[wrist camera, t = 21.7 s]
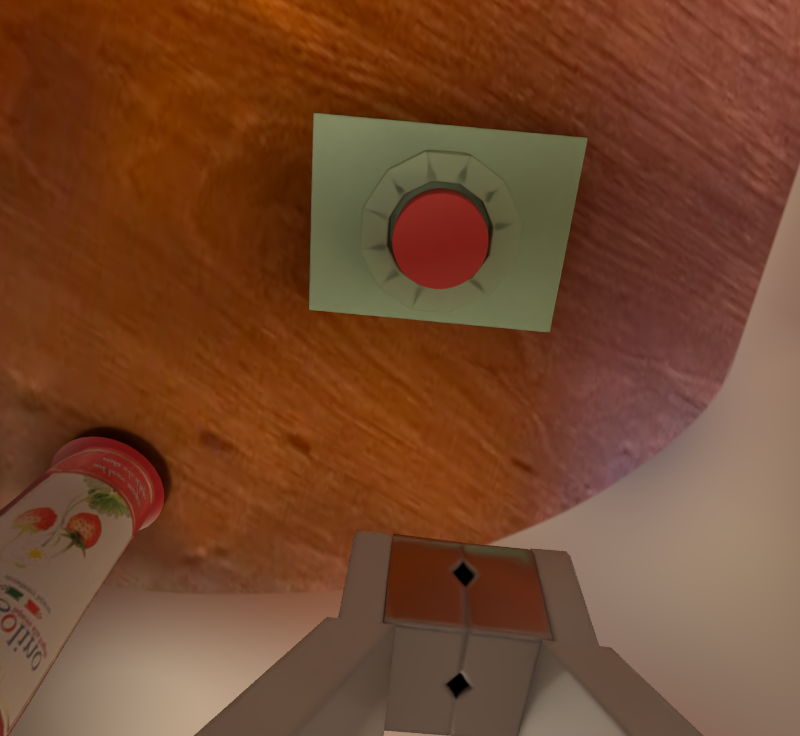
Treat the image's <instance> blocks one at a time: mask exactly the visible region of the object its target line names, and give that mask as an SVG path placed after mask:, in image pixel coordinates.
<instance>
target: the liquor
mask: <svg viewBox="0 0 800 736" xmlns="http://www.w3.org/2000/svg"><path fill="white" fill-rule="evenodd" d="M163 504H164V489H163V485H162V482H161V479H160V476H159V475H158V473H157V471H156V470H155V468H154V467H153V465H152V464H151V463H150V462H149V461H148V460H147V459H146V458H145V457H144V456H143V455H142V454H140V453H139V452H138V451H137V450H135V449H133V448H132V447H130V446H128V445H126V444H124V443H122V442H119V441H117V440H113V439H109V438H105V437H93V436H92V437H83V438H79V439H76V440H73V441H70V442H69V443H67V444H65V445H64V446H62V447H61V448H60V449H59V450H58V451H57V452H56V454H55V456H54V457H53V459H52V462H51V465H50V469H49V470H48V471H47V472H45V473H44V474H43V475H42V476H41V477H40V478H38V479H37V480H36V481H35V482H34V483H33V484H31V485H30V486H29V487H28V488H27V489H26V490H24V491H23V492H22V493H21V494H20V495H19V496H17V497H16V498H15V499H14V500H13V501H11V502H10V503H9V504H8V505H7V506H5V507H4V508H3V509H2V510H1V511H0V736H9V734H10V733H11V731H12V729H13V728H14V726H15V725H16V723H17V721H18V720H19V718H20V717H21V716H22V714H23V712H24V711H25V709H26V708H27V706H28V705H29V703H30V701H31V700H32V698H33V696H34V695H35V693H36V691H37V689H38V688H39V687H40V685H41V683H42V682H43V680H44V678H45V677H46V675H47V673H48V671H49V670H50V668H51V667H52V665H53V664H54V662H55V660H56V658H57V657H58V655H59V654H60V652H61V650H62V649H63V647H64V645H65V644H66V642H67V640H68V639H69V637H70V635H71V634H72V632H73V630H74V629H75V627H76V626H77V624H78V622H79V621H80V619H81V617H82V616H83V615H84V613H85V611H86V610H87V608H88V607H89V605H90V604H91V602H92V601H93V599H94V598H95V596H96V594H97V593H98V591H99V590H100V588H101V587H102V585H103V584H104V582H105V581H106V579H107V577H108V576H109V574H110V573H111V571H112V570H113V568H114V567H115V565H116V564H117V562H118V561H119V559H120V558H121V556H122V555H123V553H124V552H125V550H126V549H127V547H128V546H129V544H130V543H131V541H132V540H133V538H134V537H135V535H136V534H137V532H138V531H139V530H141V529H143V528H145V527H147V526H149V525H150V524H151V523H152V522H154V521H155V520H156V518H157V517H158V516H159V514H160V512H161V510H162V507H163Z"/></svg>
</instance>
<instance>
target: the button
mask: <svg viewBox="0 0 800 736" xmlns="http://www.w3.org/2000/svg"><path fill="white" fill-rule="evenodd" d="M488 241H489V239H488V230H487V226H486V223H485V221H484V219H483V217H482V215H481V213H480V211H479V210H478V208H477V207H476V205H475V204H474V203H473V202H472V201H471V200H470V199H469V198H468V197H466V196H465V195H463V194H462V193H459V192H457V191H454V190H451V189H445V188H436V189H430V190H426V191H424V192H421V193H419V194H418V195H416V196H414V197H413V198H412V199H410V200H409V201H408V202H407V203H406V205H405V206H404V207H403V208H402V210H401V212H400V213H399V216H398V218H397V221H396V224H395V227H394V230H393V236H392V247H393V253H394V257H395V259H396V262H397V264H398V265H399V267H400V269H401V270H402V271H403V273H404V274H405V275H406V276H407V277H408V278H410V279H411V280H412V281H414V282H415V283H417V284H419V285H421V286H424V287H427V288H432V289H448V288H452V287H455V286H458V285H460V284H462V283H464V282H466V281H467V280H468V279H470V278H471V277H472V276H473V275H474V274H475V273H476V272H477V271H478V270H479V268H480V267H481V265H482V263H483V261H484V259H485V257H486V254H487V250H488Z"/></svg>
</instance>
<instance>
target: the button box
mask: <svg viewBox="0 0 800 736" xmlns="http://www.w3.org/2000/svg"><path fill="white" fill-rule="evenodd" d="M586 144H587V138H585V137H574V136H563V135H552V134H541V133H530V132H519V131H508V130H497V129H486V128H475V127H464V126H454V125H443V124H432V123H421V122H410V121H399V120H388V119H377V118H366V117H355V116H344V115H333V114H322V113H314V114H313V152H312V195H311V239H310V282H309V310H317V311H328V312H338V313H349V314H359V315H370V316H381V317H391V318H402V319H412V320H423V321H433V322H444V323H455V324H465V325H476V326H486V327H497V328H507V329H518V330H529V331H539V332H550V328H551V323H552V318H553V313H554V307H555V302H556V297H557V292H558V287H559V282H560V277H561V272H562V267H563V262H564V257H565V251H566V246H567V241H568V236H569V231H570V226H571V221H572V216H573V211H574V206H575V200H576V195H577V190H578V185H579V180H580V175H581V170H582V165H583V160H584V155H585V150H586ZM436 188H445V189H451V190H454V191H457V192H459V193H462V194H463V195H465V196H466V197H468V198H469V199H470V200H471V201H472V202H473V203H474V204H475V205H476V207H477V208H478V210H479V211H480V213H481V215H482V217H483V219H484V221H485V223H486V226H487V230H488V239H489V241H488V250H487V254H486V257H485V259H484V261H483V263H482V265H481V267H480V268H479V270H478V271H477V272H476V273H475V274H474V275H473V276H472V277H471V278H470V279H468V280H467V281H466V282H464V283H462V284H460V285H458V286H455V287H452V288H448V289H432V288H427V287H424V286H421V285H419V284H417V283H415V282H414V281H412V280H411V279H410V278H408V277H407V276H406V275H405V274H404V273H403V271H402V270H401V269H400V267H399V265H398V264H397V262H396V259H395V257H394V253H393V247H392V236H393V230H394V227H395V224H396V221H397V218H398V216H399V213H400V212H401V210H402V208H403V207H404V206H405V205H406V203H407V202H408V201H409V200H410V199H412V198H413V197H414V196H416V195H418V194H419V193H421V192H424V191H426V190H430V189H436Z"/></svg>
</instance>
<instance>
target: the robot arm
mask: <svg viewBox="0 0 800 736" xmlns="http://www.w3.org/2000/svg"><path fill="white" fill-rule="evenodd" d="M391 537H392V544H391ZM390 549H391V553H390ZM389 560H390V563H389ZM388 571H389V573H388ZM384 730H386V731H398V732H411V733H423V734H436V735H450V736H703V735H702V734H701V733H700V732H699V731H698V730H697V729H696V728H695V727H693V726H692V725H691V723H689V722H688V721H687V720H686V719H685V718H684V717H683V716H682V715H681V714H680V713H679V712H678V711H677V710H676V709H675V708H674V707H673V706H672V705H671V704H670V703H668V702H667V701H666V700H665V699H664V698H663V697H662V696H661V695H660V694H659V693H658V692H657V691H656V690H655V689H654V688H653V687H652V686H651V685H650V684H648V683H647V682H646V681H645V680H644V679H643V678H642V677H641V676H640V675H639V674H638V673H637V672H636V671H635V670H634V669H633V668H632V667H631V666H630V665H628V664H627V663H626V662H625V661H624V660H623V659H622V658H621V657H620V656H619V655H618V654H617V653H616V652H615V651H614V650H613V649H612V648H610V647H601V646H599V644H598V641H597V638H596V635H595V632H594V629H593V625H592V622H591V619H590V616H589V613H588V610H587V607H586V604H585V600H584V597H583V594H582V591H581V588H580V585H579V582H578V579H577V576H576V573H575V569H574V566H573V564H572V560H571V557H570V555H569V554H568V553H567V552H566V551H555V550H542V549H530V550H528V549H520V548H510V547H500V546H490V545H480V544H470V543H461V542H454V541H446V540H438V539H431V538H423V537H415V536H407V535H399V534H393V536H392V535H391V534H388V533H379V532H371V531H363V530H357V532H356V534H355V536H354V540H353V545H352V550H351V555H350V560H349V565H348V570H347V575H346V581H345V586H344V591H343V596H342V601H341V606H340V611H339V616H338V618H330V617H327V618H326V619H324V620H323V621H322V622H321V623H320V624H319V625H318V626H317V627H315V628H314V629H313V630H312V631H311V632H310V633H309V634H308V635H306V636H305V637H304V638H303V639H302V640H301V641H300V642H299V643H297V644H296V646H294V647H293V648H292V649H291V650H290V651H289V652H287V653H286V654H285V655H284V656H283V657H282V658H281V659H280V660H278V661H277V662H276V663H275V664H274V665H273V666H272V667H271V668H269V669H268V670H267V671H266V672H265V673H264V674H263V675H262V676H261V677H259V678H258V679H257V680H256V681H255V682H254V683H253V684H251V685H250V686H249V687H248V688H247V689H246V690H245V691H244V692H242V693H241V694H240V695H239V696H238V697H237V698H236V699H235V700H234V701H233V702H232V703H230V704H229V705H228V706H227V707H226V708H224V709H223V710H222V711H221V712H220V713H219V714H218V715H217V716H215V717H214V718H213V719H212V720H211V721H210V722H209V723H208V724H207V725H205V726H204V727H203V728H202V729H201V730H200V731H199V732H198V733H197V734H195V735H194V736H383V735H384Z"/></svg>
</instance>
